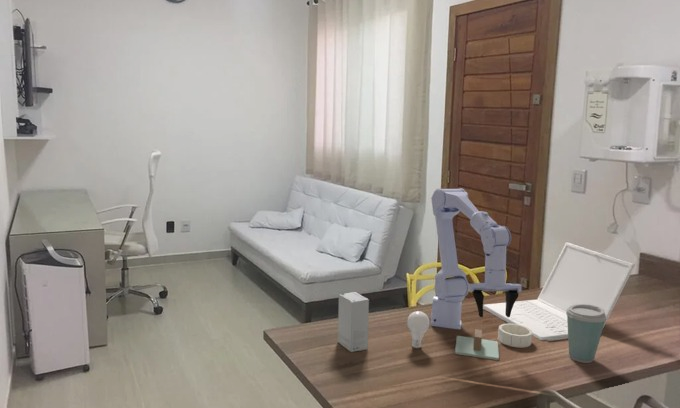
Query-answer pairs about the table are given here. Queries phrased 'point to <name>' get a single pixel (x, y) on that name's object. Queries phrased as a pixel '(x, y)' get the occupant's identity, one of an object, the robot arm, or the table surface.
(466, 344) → the lid
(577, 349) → the disposable coffee cup
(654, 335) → the table surface
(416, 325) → the lightbulb
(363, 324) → the skincare box
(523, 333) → the bowl
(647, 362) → the table surface
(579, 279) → the laptop
